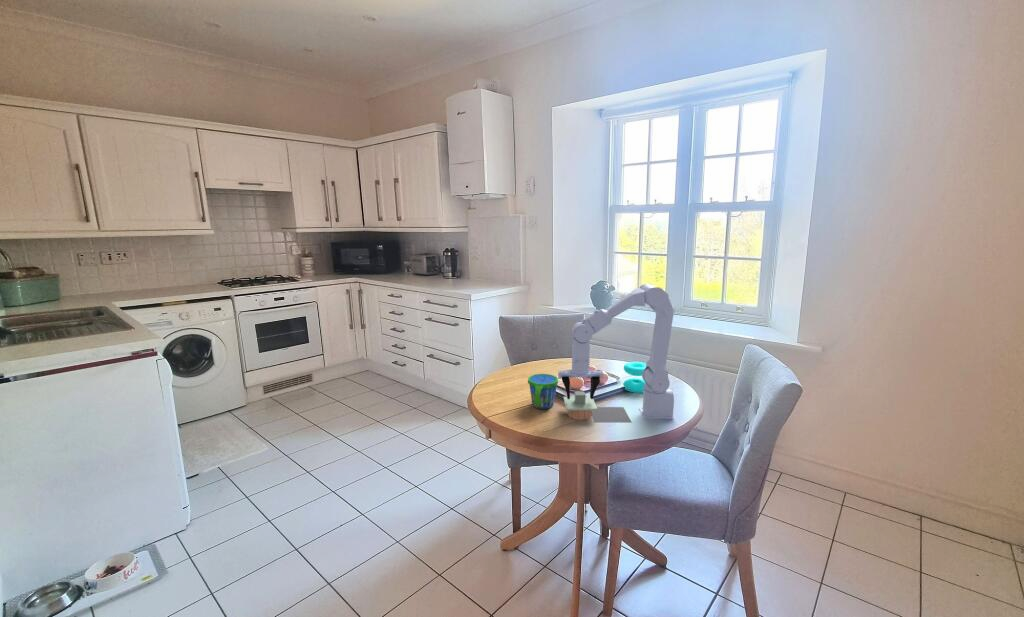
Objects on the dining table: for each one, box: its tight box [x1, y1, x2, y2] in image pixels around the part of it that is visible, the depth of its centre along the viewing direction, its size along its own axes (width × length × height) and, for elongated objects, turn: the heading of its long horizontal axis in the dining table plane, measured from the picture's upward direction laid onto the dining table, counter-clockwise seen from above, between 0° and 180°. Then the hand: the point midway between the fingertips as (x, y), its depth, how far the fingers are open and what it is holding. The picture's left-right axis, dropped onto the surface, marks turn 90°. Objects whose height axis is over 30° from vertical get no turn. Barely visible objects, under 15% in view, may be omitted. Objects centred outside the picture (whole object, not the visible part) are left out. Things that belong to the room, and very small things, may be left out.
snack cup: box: [527, 373, 559, 410], centre depth 153 cm, size 16×10×10 cm
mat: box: [591, 406, 633, 423], centre depth 146 cm, size 12×12×1 cm
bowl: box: [566, 410, 592, 421], centre depth 146 cm, size 8×8×4 cm
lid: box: [563, 391, 598, 411], centre depth 145 cm, size 10×10×4 cm
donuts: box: [622, 361, 646, 394], centre depth 168 cm, size 10×10×10 cm
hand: (579, 398), depth 145 cm, fingers open, 7 cm apart
